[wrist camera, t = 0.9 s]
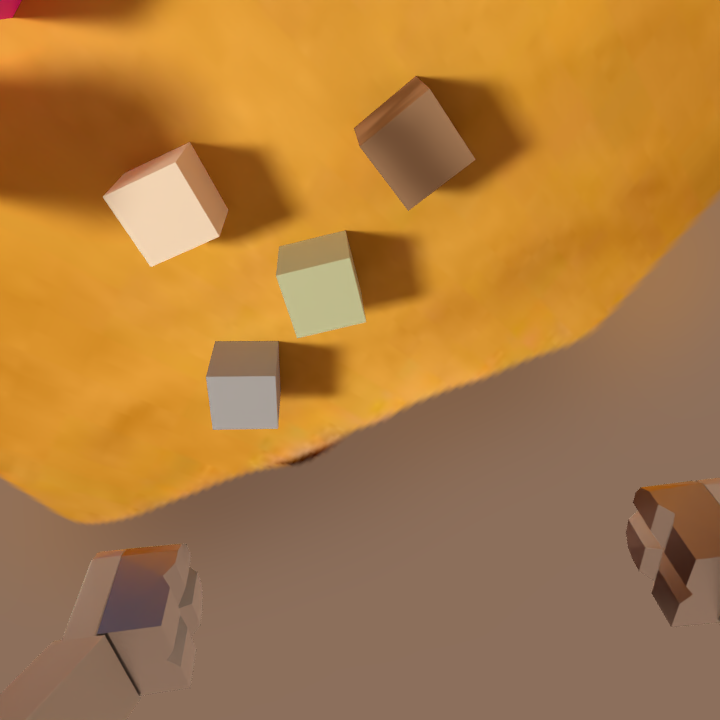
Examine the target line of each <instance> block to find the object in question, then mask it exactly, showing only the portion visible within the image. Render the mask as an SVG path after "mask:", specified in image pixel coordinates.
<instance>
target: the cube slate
mask: <svg viewBox="0 0 720 720" xmlns="http://www.w3.org/2000/svg"><path fill="white" fill-rule="evenodd" d="M206 379H207V387H208V395H209V403H210V411H211V419H212V426H213V430H220V429H278V420H279V406H280V392H281V390H280V367H279V343H278V341H215V344H214V348H213V352H212V356H211V360H210V364H209V368H208V372H207V375H206Z"/></svg>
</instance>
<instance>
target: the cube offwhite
mask: <svg viewBox="0 0 720 720" xmlns="http://www.w3.org/2000/svg"><path fill="white" fill-rule="evenodd" d="M103 198H104V200H105V201H106V203H107V204H108V205H109V207H110V208H111V210H112V211H113V213H114V214H115V216H116V217H117V219H118V220H119V221H120V223H121V224H122V226H123V227H124V229H125V230H126V232H127V233H128V235H129V236H130V237H131V239H132V240H133V242H134V243H135V245H136V246H137V248H138V249H139V251H140V252H141V253H142V255H143V256H144V258H145V259H146V261H147V262H148V264H149V265H150V266H151V267H152V266H154V265H156V264H159V263H161V262H163V261H165V260H168V259H170V258H172V257H174V256H177V255H179V254H181V253H184V252H186V251H188V250H190V249H193V248H195V247H197V246H199V245H202V244H204V243H206V242H208V241H211V240H213V239H215V238H217V237H219V236H220V234H221V231H222V228H223V225H224V222H225V219H226V216H227V213H228V208H227V207H226V205H225V203H224V201H223V199H222V198H221V196H220V194H219V192H218V191H217V189H216V187H215V185H214V184H213V182H212V180H211V178H210V177H209V175H208V173H207V171H206V169H205V168H204V166H203V164H202V162H201V161H200V159H199V157H198V155H197V154H196V152H195V150H194V148H193V147H192V145H191V143H190V142H189V143H186V144H184V145H182V146H180V147H178V148H176V149H174V150H172V151H170V152H168V153H165V154H163V155H161V156H159V157H157V158H155V159H153V160H151V161H149V162H147V163H145V164H142V165H140V166H138V167H136V168H134V169H132V170H130V171H128V172H126V173H124V174H123V175H122V176H121V177H120V178H119V179H118V181H117V182H116V183H115V184H114V185H113V186H112V187H111V188H110V189H109V190H108V191H107V192H106V193H105V195H104V196H103Z"/></svg>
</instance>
